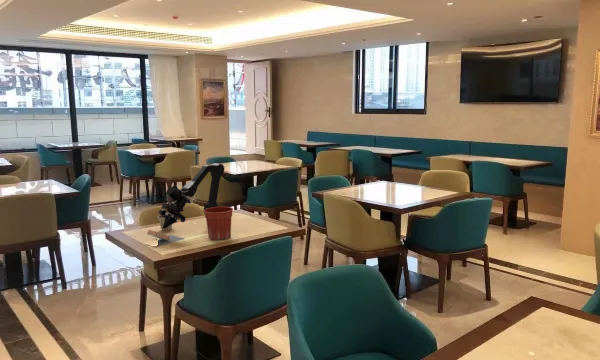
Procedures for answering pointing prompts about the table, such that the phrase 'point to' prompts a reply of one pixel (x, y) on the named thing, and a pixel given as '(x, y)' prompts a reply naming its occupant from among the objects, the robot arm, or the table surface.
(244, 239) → the table surface
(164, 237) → the salmon rectangular block
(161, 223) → the flower pot
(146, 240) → the table surface
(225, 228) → the flower pot
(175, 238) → the mat
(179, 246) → the table surface
